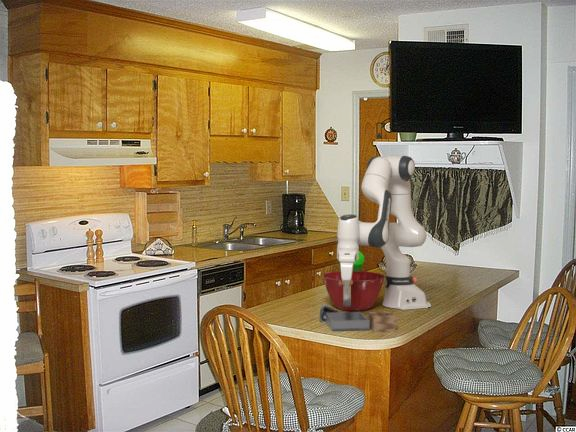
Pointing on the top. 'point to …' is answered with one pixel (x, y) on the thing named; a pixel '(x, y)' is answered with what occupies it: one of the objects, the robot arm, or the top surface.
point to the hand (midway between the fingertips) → (347, 288)
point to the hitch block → (382, 321)
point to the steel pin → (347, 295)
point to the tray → (347, 321)
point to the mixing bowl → (354, 289)
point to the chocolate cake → (325, 310)
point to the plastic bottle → (359, 262)
